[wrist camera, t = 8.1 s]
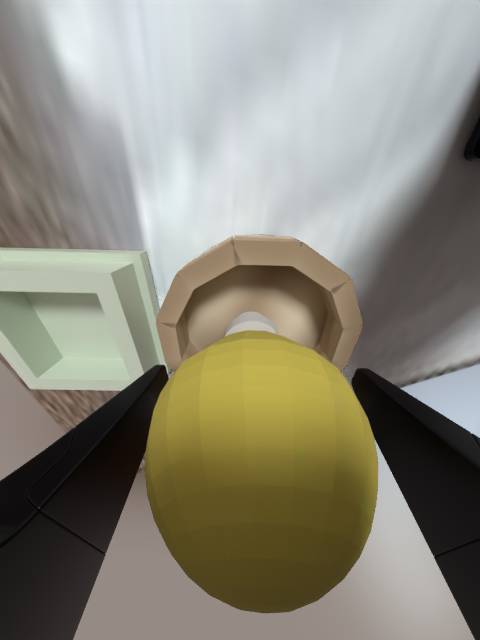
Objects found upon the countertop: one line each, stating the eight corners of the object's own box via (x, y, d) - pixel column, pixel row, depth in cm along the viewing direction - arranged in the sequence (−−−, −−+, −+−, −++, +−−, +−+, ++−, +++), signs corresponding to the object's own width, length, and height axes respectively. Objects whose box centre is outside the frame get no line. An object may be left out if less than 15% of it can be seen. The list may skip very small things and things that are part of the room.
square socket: (146, 250, 11) (118, 262, 8) (172, 366, 15) (159, 395, 13) (-13, 247, 10) (-89, 257, 8) (61, 364, 15) (26, 393, 13)
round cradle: (360, 236, 10) (398, 244, 8) (315, 377, 16) (328, 407, 13) (160, 232, 10) (134, 237, 8) (185, 375, 16) (175, 405, 13)
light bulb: (314, 347, 13) (469, 632, 4) (229, 376, 14) (202, 627, 5) (282, 256, 10) (567, 540, 1) (179, 304, 11) (-38, 583, 3)
